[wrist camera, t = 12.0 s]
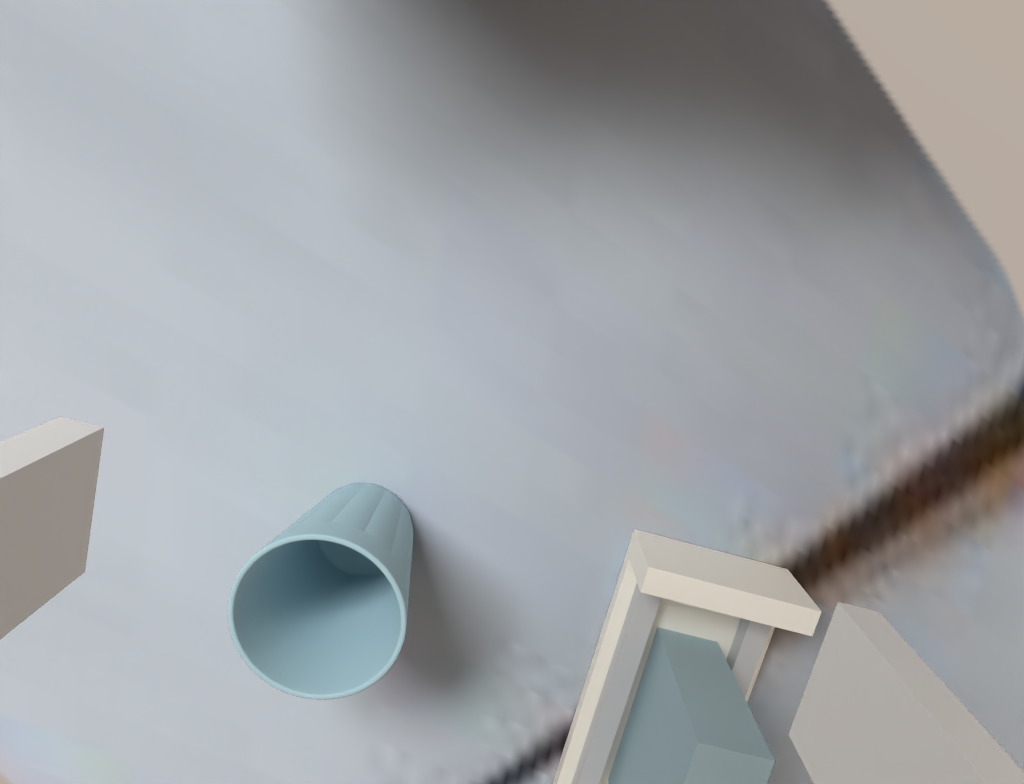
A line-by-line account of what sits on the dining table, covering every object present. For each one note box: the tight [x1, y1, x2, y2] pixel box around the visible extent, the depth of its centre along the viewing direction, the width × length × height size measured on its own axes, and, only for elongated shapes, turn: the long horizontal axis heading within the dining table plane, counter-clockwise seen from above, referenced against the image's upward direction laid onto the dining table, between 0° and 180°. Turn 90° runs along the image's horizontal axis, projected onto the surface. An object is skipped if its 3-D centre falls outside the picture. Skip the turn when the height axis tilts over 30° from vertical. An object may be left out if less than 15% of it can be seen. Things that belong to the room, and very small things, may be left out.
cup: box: [228, 483, 413, 700], centre depth 38 cm, size 8×8×10 cm
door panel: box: [608, 627, 775, 784], centre depth 39 cm, size 10×4×10 cm, turn 165°
